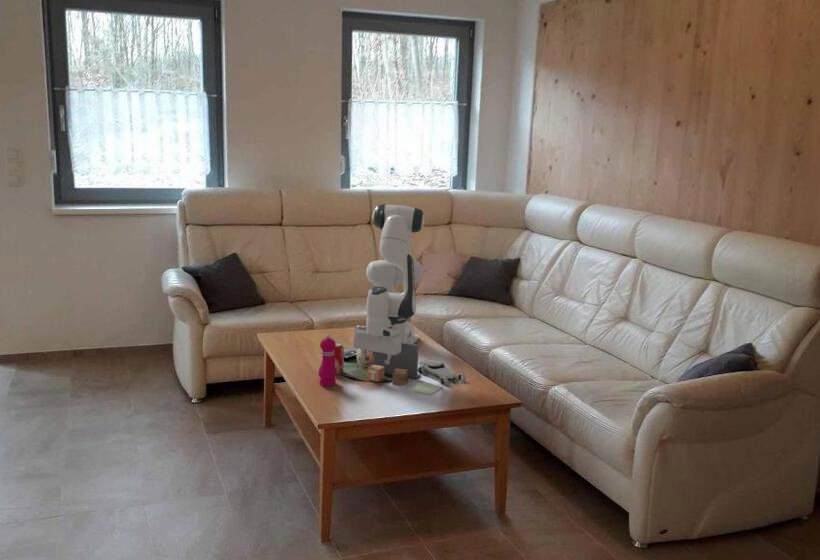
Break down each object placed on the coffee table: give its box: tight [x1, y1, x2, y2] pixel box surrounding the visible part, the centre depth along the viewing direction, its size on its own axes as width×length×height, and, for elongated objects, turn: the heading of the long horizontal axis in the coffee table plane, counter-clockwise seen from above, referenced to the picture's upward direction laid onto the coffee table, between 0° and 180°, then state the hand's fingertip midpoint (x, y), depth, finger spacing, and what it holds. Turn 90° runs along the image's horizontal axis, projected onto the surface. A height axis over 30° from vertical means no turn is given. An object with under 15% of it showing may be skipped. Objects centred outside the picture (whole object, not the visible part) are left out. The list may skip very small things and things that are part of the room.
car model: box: [418, 359, 467, 387], centre depth 313 cm, size 11×24×5 cm, turn 33°
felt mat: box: [407, 381, 443, 396], centre depth 298 cm, size 10×10×1 cm
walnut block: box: [391, 369, 409, 387], centre depth 303 cm, size 5×5×5 cm
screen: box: [372, 342, 422, 381], centre depth 313 cm, size 4×20×14 cm, turn 63°
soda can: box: [333, 341, 345, 375], centre depth 313 cm, size 7×7×12 cm
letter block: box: [366, 364, 385, 383], centre depth 307 cm, size 5×5×5 cm
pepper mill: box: [317, 334, 338, 387], centre depth 298 cm, size 7×7×20 cm
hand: (376, 362), depth 306 cm, fingers open, 8 cm apart
